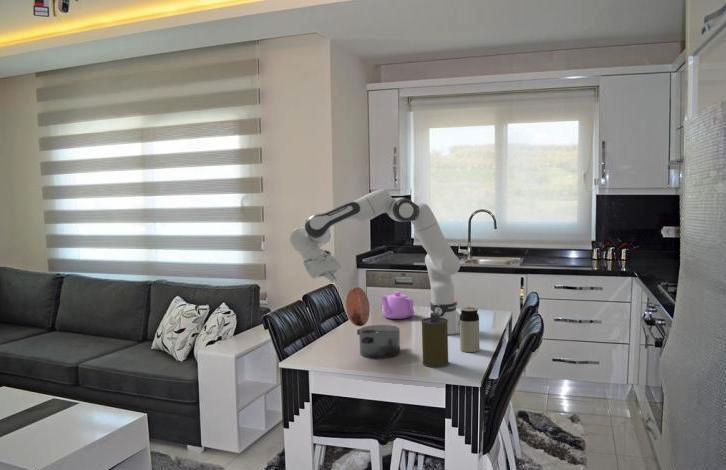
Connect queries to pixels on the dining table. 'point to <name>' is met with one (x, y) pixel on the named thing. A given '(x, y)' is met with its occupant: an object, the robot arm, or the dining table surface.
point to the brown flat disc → (357, 306)
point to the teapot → (397, 306)
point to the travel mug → (469, 329)
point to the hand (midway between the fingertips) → (334, 280)
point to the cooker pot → (379, 341)
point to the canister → (435, 341)
